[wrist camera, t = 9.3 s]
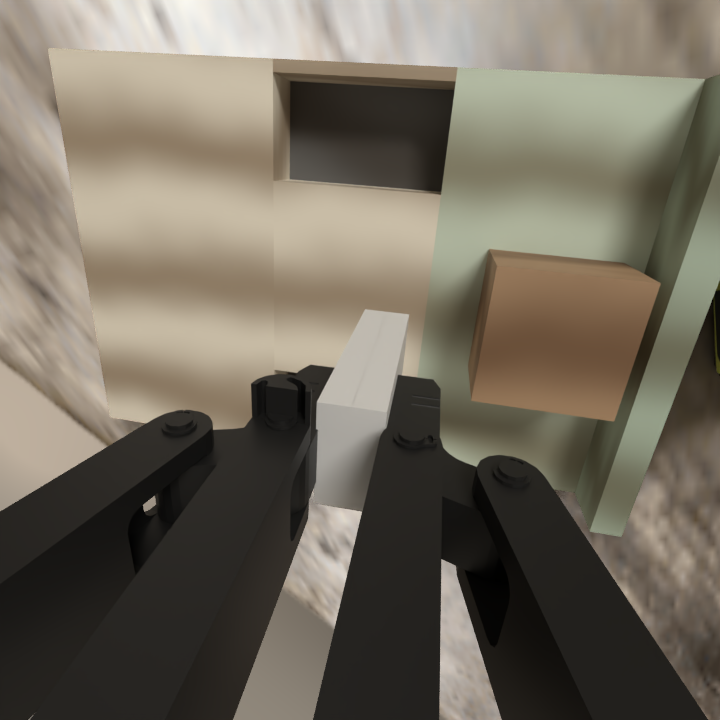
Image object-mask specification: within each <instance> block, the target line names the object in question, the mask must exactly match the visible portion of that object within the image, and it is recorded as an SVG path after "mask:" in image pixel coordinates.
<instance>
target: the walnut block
mask: <svg viewBox="0 0 720 720" xmlns="http://www.w3.org/2000/svg"><path fill="white" fill-rule="evenodd" d="M660 285H661V283H659V282H657V281H656V280H654V279H652V278H650V277H649V276H647V275H645V274H643V273H642V272H640V271H638V270H636V269H634V268H633V267H631V266H629V265H627V264H626V263H622V262H612V261H602V260H592V259H583V258H573V257H563V256H553V255H543V254H534V253H524V252H514V251H504V250H495V249H489V252H488V257H487V263H486V268H485V274H484V279H483V285H482V290H481V296H480V301H479V307H478V312H477V318H476V323H475V329H474V334H473V340H472V345H471V351H470V356H469V362H468V372H469V383H470V393H471V401H476V402H482V403H489V404H496V405H503V406H510V407H517V408H524V409H531V410H538V411H545V412H551V413H558V414H565V415H572V416H579V417H586V418H593V419H600V420H607V421H613V422H614V420H615V418H616V415H617V412H618V409H619V406H620V403H621V400H622V397H623V394H624V391H625V388H626V385H627V382H628V379H629V376H630V373H631V370H632V367H633V364H634V361H635V358H636V355H637V353H638V350H639V347H640V344H641V341H642V338H643V335H644V332H645V329H646V326H647V323H648V320H649V317H650V314H651V311H652V308H653V305H654V302H655V299H656V296H657V293H658V290H659V287H660Z"/></svg>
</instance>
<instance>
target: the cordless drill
mask: <svg viewBox="0 0 720 720" xmlns="http://www.w3.org/2000/svg"><path fill="white" fill-rule="evenodd" d="M713 307H714V333H715V366H716V368H717V372H718V373H719V375H720V281H719V283H718V286H717V289H716V291H715V294H714V296H713Z"/></svg>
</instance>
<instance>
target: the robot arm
mask: <svg viewBox="0 0 720 720" xmlns="http://www.w3.org/2000/svg"><path fill="white" fill-rule="evenodd" d="M408 320H409V314H402V313H393V312H384V311H376V310H367V309H365V310H364V312H363V314H362V316H361V318H360V320H359V322H358V324H357V326H356V328H355V330H354V332H353V333H352V335H351V337H350V339H349V341H348V343H347V345H346V347H345V349H344V351H343V353H342V355H341V357H340V358H339V360H338V362H337V364H336V366H335V368H333V367H325V366H318V365H309V366H307V367H305V368H303V369H302V370H300V371H298V373H297V374H296V376H294V375H288V374H275V375H268V376H264V377H261V378H259V379H257V380H255V381H254V382H253V383H251V402H252V418H251V419H250V420H249V422H248V423H247V424H246V426H245V427H244V428H236V429H218V430H213V422H212V420H211V418H210V417H209V416H208V415H206V414H204V413H202V412H199V411H193V410H177V411H174V412H169V413H165V414H163V415H161V416H159V417H156V418H155V419H153V420H151V421H150V422H148V423H146V424H145V425H143V426H141V427H140V428H138V429H136V430H135V431H133V432H131V433H130V434H128V435H126V436H125V437H123V438H121V439H120V440H118V441H116V442H115V443H113V444H111V445H110V446H108V447H106V448H105V449H103V450H102V451H100V452H98V453H97V454H95V455H93V456H92V457H90V458H88V459H87V460H85V461H83V462H82V463H80V464H78V465H77V466H75V467H73V468H72V469H70V470H68V471H67V472H65V473H63V474H62V475H60V476H58V477H57V478H55V479H53V480H52V481H50V482H49V483H47V484H45V485H44V486H42V487H40V488H39V489H37V490H35V491H34V492H32V493H30V494H29V495H27V496H25V497H24V498H22V499H20V500H19V501H17V502H15V503H14V504H12V505H10V506H9V507H7V508H5V509H4V510H2V511H0V720H28V719H29V718H30V717H31V716H32V715H33V714H34V713H35V714H34V715H33V717H32V718H31V719H30V720H233V718H234V715H235V713H236V710H237V707H238V704H239V701H240V699H241V696H242V694H243V691H244V689H245V686H246V683H247V680H248V678H249V675H250V672H251V670H252V667H253V664H254V662H255V659H256V656H257V653H258V651H259V648H260V646H261V643H262V640H263V638H264V635H265V632H266V630H267V627H268V624H269V621H270V619H271V616H272V614H273V611H274V608H275V606H276V603H277V600H278V597H279V595H280V592H281V589H282V587H283V584H284V581H285V579H286V576H287V573H288V571H289V568H290V565H291V563H292V560H293V557H294V555H295V552H296V549H297V547H298V544H299V541H300V539H301V536H302V533H303V531H304V528H305V525H306V523H307V520H308V512H309V498H310V496H311V493H312V491H313V488H314V503H316V504H321V505H327V506H333V507H339V508H345V509H351V510H357V511H362V515H361V519H360V524H359V528H358V532H357V536H356V540H355V545H354V549H353V553H352V557H351V562H350V566H349V570H348V574H347V578H346V583H345V587H344V591H343V595H342V600H341V604H340V608H339V612H338V617H337V621H336V625H335V629H334V634H333V638H332V642H331V646H330V650H329V655H328V659H327V663H326V667H325V671H324V676H323V680H322V684H321V688H320V693H319V697H318V701H317V706H316V710H315V714H314V718H313V720H439V692H440V615H441V559H443V560H445V561H447V562H449V563H452V564H454V565H456V570H457V577H458V580H459V583H460V587H461V590H462V593H463V596H464V599H465V603H466V606H467V609H468V612H469V616H470V619H471V622H472V625H473V628H474V632H475V635H476V638H477V641H478V644H479V648H480V651H481V654H482V657H483V661H484V664H485V667H486V670H487V673H488V677H489V680H490V683H491V686H492V689H493V693H494V696H495V699H496V702H497V706H498V709H499V712H500V715H501V718H502V720H708V719H707V717H706V716H705V714H704V713H703V711H702V710H701V708H700V707H699V705H698V704H697V703H696V701H695V700H694V698H693V697H692V695H691V694H690V692H689V691H688V689H687V688H686V686H685V685H684V683H683V682H682V680H681V679H680V677H679V676H678V674H677V673H676V671H675V670H674V668H673V667H672V665H671V664H670V662H669V661H668V659H667V658H666V656H665V655H664V653H663V652H662V650H661V649H660V647H659V646H658V644H657V643H656V641H655V640H654V638H653V637H652V635H651V634H650V632H649V631H648V629H647V628H646V626H645V625H644V623H643V622H642V621H641V619H640V618H639V616H638V615H637V613H636V612H635V610H634V609H633V607H632V606H631V604H630V603H629V601H628V600H627V598H626V597H625V595H624V594H623V592H622V591H621V589H620V588H619V586H618V585H617V583H616V582H615V580H614V579H613V577H612V576H611V574H610V573H609V571H608V570H607V568H606V567H605V565H604V564H603V562H602V561H601V559H600V558H599V556H598V555H597V553H596V552H595V550H594V549H593V547H592V546H591V544H590V543H589V541H588V540H587V538H586V537H585V536H584V534H583V533H582V531H581V530H580V528H579V527H578V525H577V524H576V522H575V521H574V519H573V518H572V516H571V515H570V513H569V512H568V510H567V509H566V507H565V506H564V504H563V503H562V501H561V500H560V498H559V497H558V495H557V494H556V492H555V491H554V489H553V488H552V486H551V485H550V483H549V482H548V480H547V479H546V477H545V476H544V475H543V474H542V473H541V472H540V471H539V470H538V469H537V468H536V467H535V466H533V465H531V464H530V463H528V462H526V461H524V460H522V459H519V458H516V457H513V456H505V455H494V456H488V457H486V458H484V459H482V460H480V462H479V464H478V465H477V467H476V466H473V465H470V464H468V463H465V462H463V461H461V460H458V459H456V458H455V457H453V456H452V455H450V454H449V453H448V452H447V451H446V450H445V449H444V448H443V444H442V441H441V438H440V399H441V389H440V387H439V386H438V385H437V383H436V382H435V381H434V380H433V379H426V378H419V377H411V376H403V375H402V372H403V364H404V355H405V346H406V338H407V329H408ZM153 496H155V498H156V505H155V506H154V507H153V508H151V509H150V510H148V511H146V512H144V510H143V504H144V503H146V502H147V501H148V500H149V499H151V498H152V497H153Z"/></svg>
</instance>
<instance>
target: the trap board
mask: <svg viewBox="0 0 720 720" xmlns="http://www.w3.org/2000/svg"><path fill="white" fill-rule="evenodd" d="M48 52H49V58H50V64H51V70H52V76H53V82H54V88H55V94H56V100H57V106H58V111H59V117H60V123H61V129H62V135H63V141H64V147H65V153H66V159H67V165H68V171H69V177H70V183H71V189H72V194H73V200H74V206H75V212H76V218H77V224H78V230H79V236H80V242H81V248H82V254H83V260H84V266H85V272H86V278H87V283H88V289H89V295H90V301H91V307H92V313H93V319H94V325H95V331H96V337H97V343H98V349H99V355H100V361H101V366H102V372H103V378H104V384H105V390H106V396H107V402H108V408H109V414H110V418H116V419H122V420H129V421H135V422H141V423H148V422H150V421H151V420H153V419H155V418H156V417H159V416H161V415H163V414H165V413H169V412H174V411H177V410H193V411H199V412H202V413H204V414H206V415H208V416H209V417H210V418H211V420H212V422H213V430H218V429H236V428H244V427H245V426H246V424H247V423H248V422H249V420H250V419H251V418H252V402H251V383H253V382H254V381H255V380H257V379H259V378H261V377H264V376H268V375H275V374H288V375H294V376H296V374H297V373H298V371H300V370H302V369H303V368H305V367H307V366H309V365H318V366H325V367H333V368H335V366H336V364H337V362H338V360H339V358H340V357H341V355H342V353H343V351H344V349H345V347H346V345H347V343H348V341H349V339H350V337H351V335H352V333H353V332H354V330H355V328H356V326H357V324H358V322H359V320H360V318H361V316H362V314H363V312H364V310H365V309H367V310H376V311H384V312H393V313H402V314H409V320H408V329H407V338H406V346H405V355H404V364H403V372H402V375H403V376H411V377H419V378H426V379H433V380H434V381H435V382H436V383H437V385H438V386H439V387H440V389H441V399H440V438H441V441H442V444H443V448H444V449H445V450H446V451H447V452H448V453H449V454H450V455H452V456H453V457H455V458H456V459H458V460H461V461H463V462H465V463H468V464H470V465H473V466H476V467H477V465H478V464H479V462H480V460H482V459H484V458H486V457H488V456H494V455H505V456H513V457H516V458H519V459H522V460H524V461H526V462H528V463H530V464H531V465H533V466H535V467H536V468H537V469H538V470H539V471H540V472H541V473H542V474H543V475H544V476H545V477H546V479H547V480H548V482H549V483H550V485H551V486H552V488H553V489H555V490H561V491H567V492H573V493H575V494H576V497H577V499H578V502H579V505H580V507H581V510H582V512H583V515H584V518H585V520H586V523H587V525H588V528H589V531H591V532H597V533H603V534H609V535H615V536H620V537H621V536H622V534H623V531H624V529H625V526H626V523H627V521H628V518H629V516H630V513H631V510H632V508H633V505H634V503H635V500H636V497H637V495H638V492H639V490H640V487H641V484H642V482H643V479H644V476H645V474H646V471H647V469H648V466H649V463H650V461H651V458H652V456H653V453H654V450H655V448H656V445H657V443H658V440H659V437H660V435H661V432H662V430H663V427H664V424H665V422H666V419H667V416H668V414H669V411H670V409H671V406H672V403H673V401H674V398H675V396H676V393H677V390H678V388H679V385H680V383H681V380H682V377H683V375H684V372H685V370H686V367H687V364H688V362H689V359H690V356H691V354H692V351H693V349H694V346H695V343H696V341H697V338H698V336H699V333H700V330H701V328H702V325H703V323H704V320H705V317H706V315H707V312H708V310H709V307H710V304H711V302H712V299H713V296H714V294H715V291H716V289H717V286H718V283H719V281H720V75H717V76H714V77H711V78H708V79H690V78H669V77H647V76H626V75H605V74H584V73H563V72H542V71H521V70H500V69H479V68H458V67H437V66H415V65H394V64H373V63H352V62H331V61H310V60H289V59H268V58H247V57H226V56H205V55H184V54H162V53H141V52H120V51H99V50H78V49H57V48H48ZM489 249H495V250H504V251H514V252H524V253H534V254H543V255H553V256H563V257H573V258H583V259H592V260H602V261H612V262H622V263H626V264H627V265H629V266H631V267H633V268H634V269H636V270H638V271H640V272H642V273H643V274H645V275H647V276H649V277H650V278H652V279H654V280H656V281H657V282H659V283H661V285H660V287H659V290H658V293H657V296H656V299H655V302H654V305H653V308H652V311H651V314H650V317H649V320H648V323H647V326H646V329H645V332H644V335H643V338H642V341H641V344H640V347H639V350H638V353H637V355H636V358H635V361H634V364H633V367H632V370H631V373H630V376H629V379H628V382H627V385H626V388H625V391H624V394H623V397H622V400H621V403H620V406H619V409H618V412H617V415H616V418H615V420H614V422H613V421H607V420H600V419H593V418H586V417H579V416H572V415H565V414H558V413H551V412H545V411H538V410H531V409H524V408H517V407H510V406H503V405H496V404H489V403H482V402H476V401H471V393H470V383H469V372H468V362H469V356H470V351H471V345H472V340H473V334H474V329H475V323H476V318H477V312H478V307H479V301H480V296H481V290H482V285H483V279H484V274H485V268H486V263H487V257H488V252H489Z"/></svg>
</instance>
